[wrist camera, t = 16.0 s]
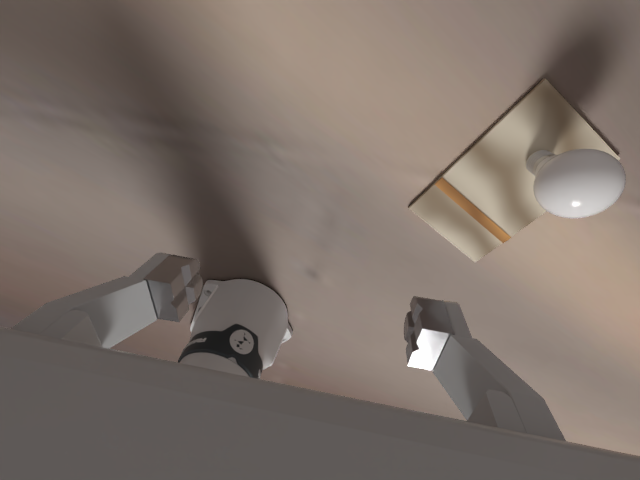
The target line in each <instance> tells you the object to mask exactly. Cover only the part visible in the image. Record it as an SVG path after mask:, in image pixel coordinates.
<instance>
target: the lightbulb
mask: <svg viewBox="0 0 640 480" xmlns="http://www.w3.org/2000/svg"><path fill="white" fill-rule="evenodd" d="M526 168H527V170H528V171H529V172H530V173H532V174H533V175H535V180H534V186H533V190H534V195H535V198H536V200H537V202H538V203H539V205H540V206H541V207H542V208H543V209H545V210H546V211H548V212H549V213H551V214H553V215H556V216H559V217H563V218H585V217H589V216H593V215H596V214H598V213H600V212H602V211H604V210H606V209H608V208H609V207H610V206H612V205H613V204H614V203H615V202H616V201H617V200H618V199H619V197H620V196H621V194H622V192H623V190H624V188H625V184H626V174H625V171H624V168H623V166H622V165H621V163H620V162H619V161H618V160H617V159H616V158H615V157H613V156H612V155H610V154H608V153H606V152H604V151H601V150H596V149H587V148H584V149H574V150H570V151H566V152H563V153H561V154H559V155H555V154H553V153H552V152H550V151H547V150H540V151H537V152H535V153H533V154H532V155H531V156H530V157H529V158H528V159H527V161H526Z"/></svg>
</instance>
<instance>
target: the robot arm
mask: <svg viewBox="0 0 640 480" xmlns="http://www.w3.org/2000/svg"><path fill="white" fill-rule="evenodd" d="M199 270H200V263H199V261H198V260H197V259H193V258H187V257H182V256H177V255H171V254H166V253H156V254H155V255H154V256H153V257H152V258H150V259H149V260H148V261H147V262H146V263H144V264H143V265H142V266H141V267H140V268H138V269H137V270H136V271H135V272H134V273H132V274H131V275H130V276H129V277H126V276H124V277H121V278H118V279H115V280H112V281H109V282H106V283H103V284H100V285H97V286H95V287H92V288H89V289H86V290H83V291H80V292H77V293H74V294H71V295H68V296H65V297H63V298H60V299H57V300H54V301H51V302H48V303H46V304H44V305H43V306H42V307H40V308H39V309H37V310H36V311H35V312H33V313H32V314H30V315H29V316H27V317H26V318H25V319H23V320H22V321H20V322H19V323H18V324H16V325H15V326H13V327H12V328H11V329H10V328H5V327H0V480H640V456H636V455H631V454H626V453H621V452H616V451H611V450H606V449H601V448H596V447H591V446H587V445H582V444H577V443H572V442H567V441H566V440H565V438H564V436H563V435H562V433H561V431H560V429H559V427H558V425H557V423H556V421H555V419H554V417H553V416H552V414H551V412H550V410H549V408H548V406H547V404H546V402H545V400H544V399H543V398H542V397H541V396H540V395H539V394H538V393H537V392H535V391H534V390H533V389H532V388H531V387H530V386H529V385H528V384H526V383H525V382H524V381H523V380H522V379H521V378H520V377H519V376H518V375H516V374H515V373H514V372H513V371H512V370H511V369H510V368H509V367H507V366H506V365H505V364H504V363H503V362H502V361H501V360H500V359H499V358H497V357H496V356H495V355H494V354H493V353H492V352H491V351H490V350H488V349H487V348H486V347H485V346H484V345H483V344H482V343H481V342H480V341H478V340H477V339H474V338H472V336H471V333H470V331H469V328H468V326H467V323H466V321H465V318H464V316H463V313H462V310H461V308H460V305H459V304H458V303H457V302H450V301H443V300H442V301H441V300H435V299H429V298H423V297H417V296H414V297H413V298H412V300H411V303H410V307H411V311H410V312H408V313H407V315H406V318H405V323H404V339H405V340H406V341H407V342H408V345H407V347H406V355H407V362H408V366H412V367H417V368H421V369H426V370H431V371H433V373H434V375H435V376H436V377H437V379H438V380H439V382H440V383H441V384H442V386H443V387H444V389H445V390H446V392H447V393H448V394H449V396H450V397H451V399H452V400H453V401H454V403H455V404H456V406H457V407H458V409H459V410H460V411H461V413H462V414H463V416H464V417H465V418H466V420H467V421H463V420H458V419H453V418H449V417H444V416H439V415H434V414H429V413H424V412H419V411H414V410H409V409H404V408H399V407H394V406H390V405H385V404H380V403H375V402H370V401H365V400H360V399H355V398H350V397H345V396H340V395H335V394H330V393H325V392H321V391H316V390H311V389H306V388H301V387H296V386H291V385H286V384H281V383H276V382H271V381H266V380H261V379H260V376H261V372H262V370H263V369H266V368H267V367H269V366H272V364H273V363H274V360H275V358H276V356H277V353H278V351H279V348H280V346H281V343H283V342H285V341H287V340H289V339H290V338H291V336H292V334H293V331H292V329H291V327H290V325H289V323H288V312H287V308H286V306H285V304H284V302H283V301H282V299H281V298H280V297H279V296H278V295H277V294H276V293H275V292H274V291H273V290H271V289H270V288H268V287H267V286H265V285H263V284H261V283H258V282H256V281H252V280H247V279H233V280H228V281H218V280H207V281H206V283H205V284H204V287H203V290H202V286H203V281H202V277H201V276H200V275H199V273H198V271H199ZM201 290H202V293H201ZM200 293H201V296H200ZM199 296H200V299H199V302H198V305H197V308H196V311H195V314H194V317H193V320H192V324H191V327H190V331H191V332H192V333H191V337H190V342H189V343H188V344H187V345H186V347H185V348H184V350H183V351H182V354H181V356H180V358H179V360H178V362H173V361H168V360H163V359H158V358H153V357H148V356H143V355H138V354H133V353H128V352H123V351H118V350H113V349H109V348H111V347H112V346H114V345H116V344H117V343H119V342H121V341H122V340H124V339H126V338H127V337H129V336H131V335H133V334H134V333H136V332H138V331H139V330H141V329H143V328H144V327H146V326H148V325H149V324H151V323H153V322H154V321H156V320H157V319H163V320H169V321H175V322H180V321H181V319H182V318H183V317H184V315H185V314H186V313H187V312H188V310H189V304H190V303H192V302H195V301H196V300H197V298H198V297H199Z"/></svg>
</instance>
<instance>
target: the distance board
mask: <svg viewBox="0 0 640 480" xmlns="http://www.w3.org/2000/svg"><path fill="white" fill-rule="evenodd" d="M584 148H587V149H596V150H601V151H604V152H606V153H608V154H610V155H612V156H613V157H615V158H616V159H617V160H619V159H620V158H619V157H618V156H617V155H616V154H615V152H614V151H613V150H612V149H611V148H610V147H609V146H608V145H607V144H606V143H605V142H604V141H603V140H602V139H601V137H600V136H599V135H598V134H597V133H596V132H595V131H594V130H593V129H592V128H591V127H590V126H589V125H588V123H587V122H586V121H585V120H584V119H583V118H582V117H581V116H580V115H579V114H578V113H577V112H576V111H575V110H574V108H573V107H572V106H571V105H570V104H569V103H568V102H567V101H566V100H565V99H564V98H563V97H562V96H561V95H560V93H559V92H558V91H557V90H556V89H555V88H554V87H553V86H552V85H551V84H550V83H549V82H548V81H547V79H542V80H541V81H540V82H539V83H538V84H537V85H536V86H535V87H534V88H533V89H532V90H531V91H530V92H529V93H528V94H527V95H526V96H524V97H523V98H522V99H521V100H520V101H519V102H518V103H517V104H516V105H515V106H514V107H513V108H512V109H511V110H510V111H509V112H508V113H507V114H506V115H505V116H503V117H502V118H501V119H500V120H499V121H498V122H497V123H496V124H495V125H494V126H493V127H492V128H491V129H490V130H489V131H488V132H487V133H486V134H485V135H484V136H482V137H481V138H480V139H479V140H478V141H477V142H476V143H475V144H474V145H473V146H472V147H471V148H470V149H469V150H468V151H467V152H466V153H465V154H464V155H463V156H461V157H460V158H459V159H458V160H457V161H456V162H455V163H454V164H453V165H452V166H451V167H450V168H449V169H448V170H447V171H446V172H445V173H444V174H443V175H442V176H440V177H439V178H438V179H437V180H436V181H435V182H434V183H433V184H432V185H431V186H430V187H429V188H428V189H427V190H426V191H425V192H424V193H423V194H422V195H421V196H419V197H418V198H417V199H416V200H415V201H414V202H413V203H412V204H411V205H410V206H409V209H410V210H411V211H412V212H414V213H415V214H416V215H417V216H419V217H420V218H421V219H422V220H424V221H425V222H426V223H427V224H428V225H430V226H431V227H432V228H433V229H435V230H436V231H437V232H438V233H439V234H441V235H442V236H443V237H444V238H446V239H447V240H448V241H449V242H451V243H452V244H453V245H454V246H455V247H457V248H458V249H459V250H460V251H462V252H463V253H464V254H465V255H467V256H468V257H469V258H470V259H471V260H473V261H474V262H477V261H478V260H479V259H481V258H482V257H484V256H485V255H486V254H488V253H489V252H491V251H492V250H493V249H495V248H496V247H498V246H499V245H500V244H502V243H504V242H506V241H507V240H508V239H510V238H511V237H512V236H513V235H514V234H516V233H517V232H519V231H520V230H521V229H523V228H524V227H526V226H527V225H528V224H530V223H531V222H533V221H534V220H535V219H537V218H538V217H540V216H541V215H542V214H544V213H545V212H547V211H546V210H545V209H543V208H542V207H541V206H540V205H539V203H538V202H537V200H536V198H535V195H534V190H533V186H534V180H535V175H533V174H532V173H530V172H529V171H528V170H527V168H526V161H527V159H528V158H529V157H530V156H531V155H532V154H533V153H535V152H537V151H540V150H547V151H550V152H552V153H553V154H555V155H559V154H561V153H563V152H566V151H570V150H574V149H584Z"/></svg>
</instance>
